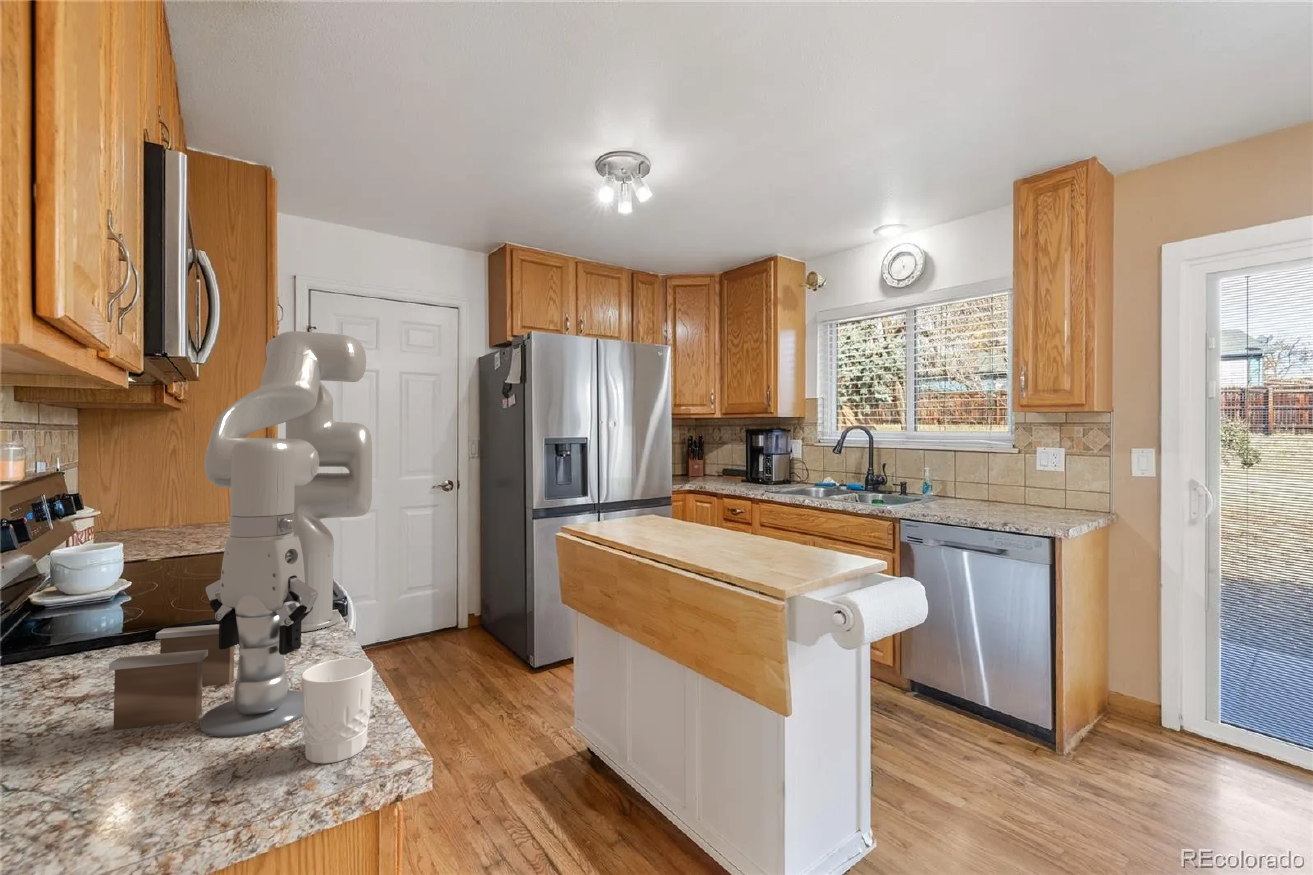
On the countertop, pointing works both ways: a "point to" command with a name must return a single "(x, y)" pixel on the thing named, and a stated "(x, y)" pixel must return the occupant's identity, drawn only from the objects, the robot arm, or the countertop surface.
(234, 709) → the coaster
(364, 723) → the white cup
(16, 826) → the countertop surface
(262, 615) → the grey bulging hollow cylinder
